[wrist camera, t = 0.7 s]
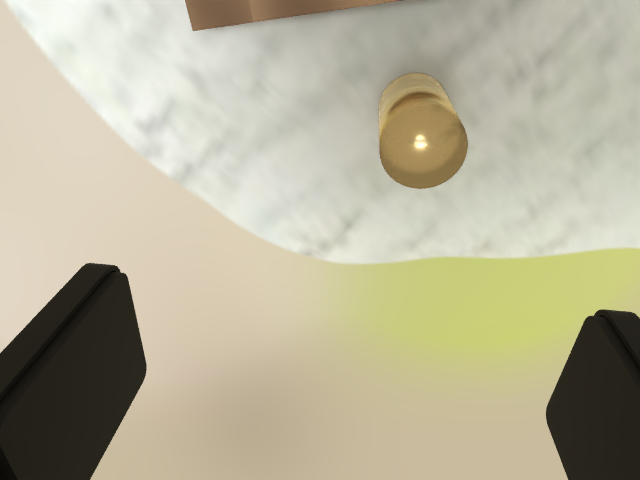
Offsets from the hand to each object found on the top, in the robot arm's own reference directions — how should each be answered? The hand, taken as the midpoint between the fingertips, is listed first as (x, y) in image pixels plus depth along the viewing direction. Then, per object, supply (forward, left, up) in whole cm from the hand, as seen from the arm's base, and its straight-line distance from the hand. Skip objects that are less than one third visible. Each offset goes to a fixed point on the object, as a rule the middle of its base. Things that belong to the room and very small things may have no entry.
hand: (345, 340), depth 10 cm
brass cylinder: (-3, +1, -21) cm, 21 cm away
